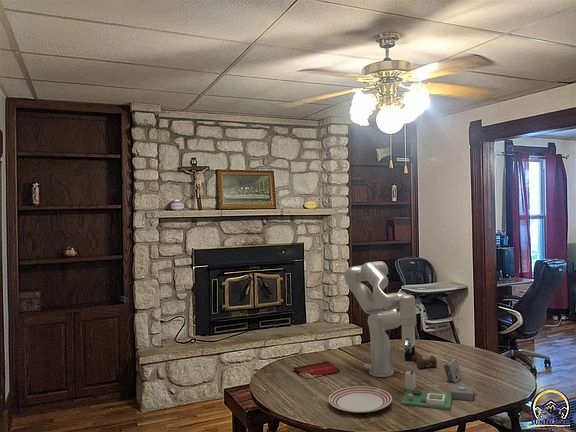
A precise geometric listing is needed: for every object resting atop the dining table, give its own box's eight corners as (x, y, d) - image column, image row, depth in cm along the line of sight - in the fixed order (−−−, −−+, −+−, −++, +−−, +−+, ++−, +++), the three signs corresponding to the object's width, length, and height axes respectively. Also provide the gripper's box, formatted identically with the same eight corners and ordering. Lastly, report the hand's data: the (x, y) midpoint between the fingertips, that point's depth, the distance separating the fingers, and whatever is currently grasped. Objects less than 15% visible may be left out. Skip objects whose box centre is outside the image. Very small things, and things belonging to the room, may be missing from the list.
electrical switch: (455, 383, 233) (452, 363, 233) (445, 382, 236) (442, 363, 236) (462, 377, 240) (459, 358, 240) (452, 376, 243) (449, 358, 244)
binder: (293, 367, 262) (327, 360, 270) (293, 371, 262) (327, 364, 270) (305, 377, 247) (342, 370, 256) (306, 381, 247) (342, 374, 256)
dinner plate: (349, 423, 195) (348, 415, 195) (317, 400, 221) (317, 393, 220) (405, 409, 206) (405, 401, 206) (369, 388, 231) (369, 381, 231)
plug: (405, 388, 229) (405, 372, 229) (407, 385, 232) (406, 369, 232) (414, 389, 227) (413, 373, 227) (415, 386, 231) (414, 370, 231)
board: (401, 404, 211) (400, 396, 211) (406, 391, 226) (406, 384, 225) (450, 410, 203) (449, 401, 203) (452, 395, 218) (452, 388, 218)
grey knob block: (450, 398, 215) (450, 390, 215) (452, 391, 223) (451, 383, 223) (472, 400, 211) (472, 392, 211) (473, 393, 220) (473, 385, 220)
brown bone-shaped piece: (422, 360, 271) (441, 370, 252) (406, 362, 269) (424, 372, 250) (421, 349, 271) (440, 358, 252) (405, 351, 269) (423, 361, 250)
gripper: (402, 317, 239) (405, 352, 238) (396, 325, 223) (399, 363, 222) (418, 317, 236) (420, 353, 236) (413, 325, 220) (415, 364, 220)
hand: (410, 358), depth 229 cm, fingers open, 9 cm apart
